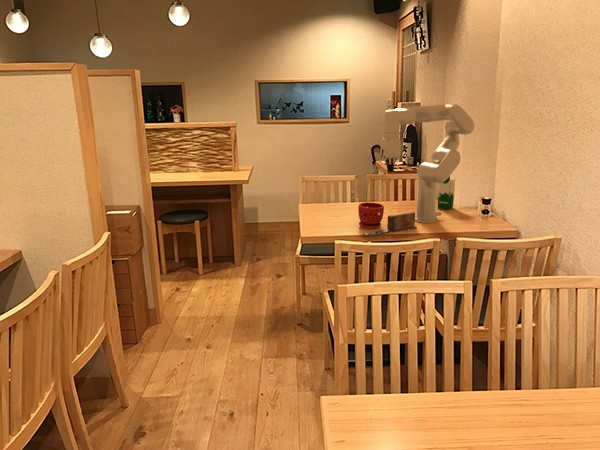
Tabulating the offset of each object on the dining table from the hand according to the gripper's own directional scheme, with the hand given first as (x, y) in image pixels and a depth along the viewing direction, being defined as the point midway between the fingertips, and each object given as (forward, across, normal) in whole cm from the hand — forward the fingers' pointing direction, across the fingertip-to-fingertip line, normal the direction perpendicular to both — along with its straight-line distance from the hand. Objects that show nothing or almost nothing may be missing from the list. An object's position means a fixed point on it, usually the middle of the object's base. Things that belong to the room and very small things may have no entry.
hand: (390, 171), depth 253 cm
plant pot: (+29, +8, -4) cm, 31 cm away
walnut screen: (+28, -2, +8) cm, 29 cm away
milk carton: (+29, -53, -15) cm, 62 cm away
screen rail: (+29, +4, +8) cm, 31 cm away
